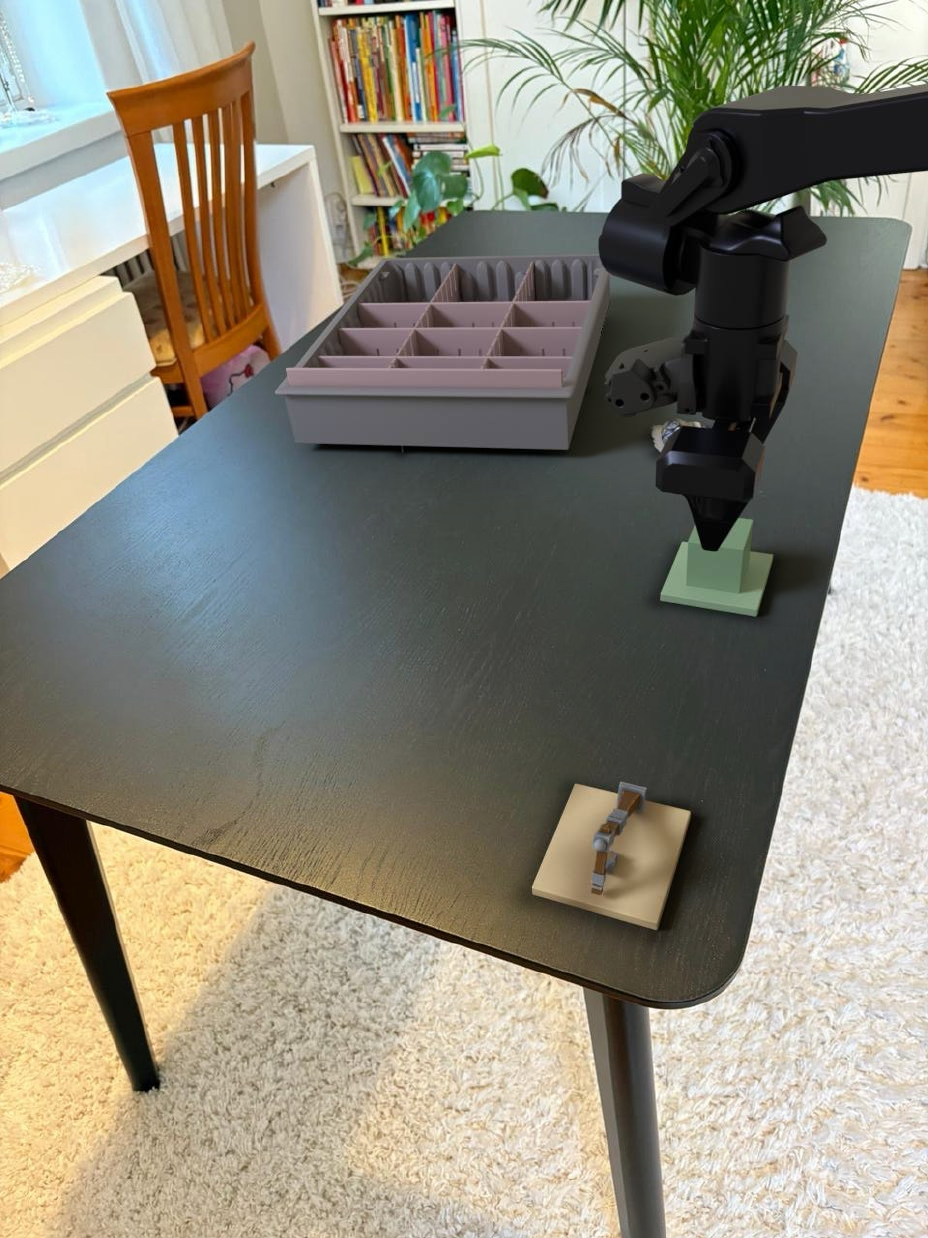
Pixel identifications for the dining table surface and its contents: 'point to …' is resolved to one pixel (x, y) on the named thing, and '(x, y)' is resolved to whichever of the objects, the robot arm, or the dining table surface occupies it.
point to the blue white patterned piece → (669, 431)
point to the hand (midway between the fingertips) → (722, 515)
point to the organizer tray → (455, 354)
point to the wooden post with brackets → (614, 832)
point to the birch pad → (640, 862)
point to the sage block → (721, 560)
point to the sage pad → (716, 599)
